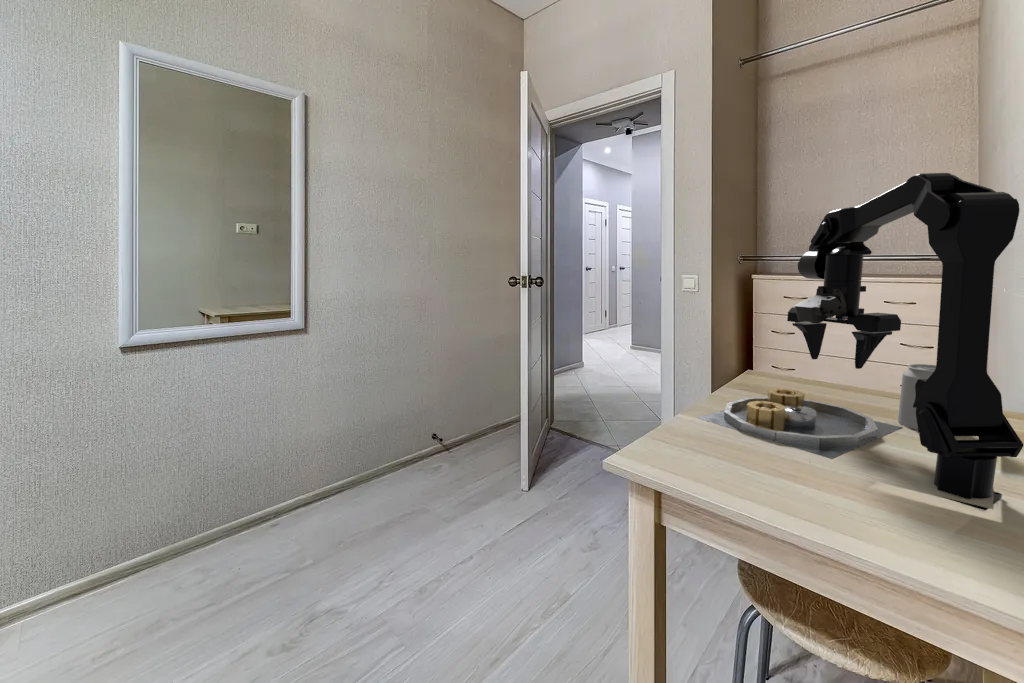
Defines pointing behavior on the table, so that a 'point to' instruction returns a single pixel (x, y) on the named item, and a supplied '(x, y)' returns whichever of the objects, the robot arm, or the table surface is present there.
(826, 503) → the table surface
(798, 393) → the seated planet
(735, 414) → the tray
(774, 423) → the hollow octagonal wooden tube
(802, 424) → the domed metal knob cap
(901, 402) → the can
